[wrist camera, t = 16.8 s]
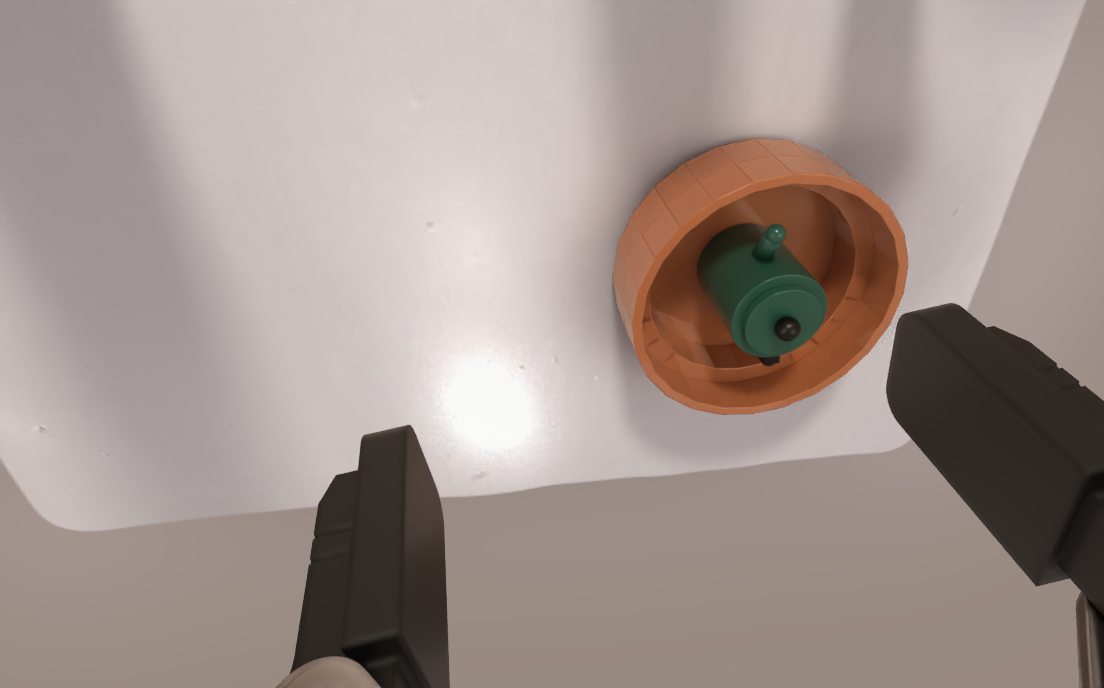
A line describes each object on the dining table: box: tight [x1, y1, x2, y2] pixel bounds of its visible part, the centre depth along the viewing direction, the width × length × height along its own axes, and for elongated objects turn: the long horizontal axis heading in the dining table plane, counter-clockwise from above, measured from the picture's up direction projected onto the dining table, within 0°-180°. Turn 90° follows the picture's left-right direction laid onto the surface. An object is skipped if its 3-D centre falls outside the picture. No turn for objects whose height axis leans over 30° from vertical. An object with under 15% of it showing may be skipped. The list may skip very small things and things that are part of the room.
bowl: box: [613, 139, 908, 415], centre depth 42 cm, size 16×16×6 cm
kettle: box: [697, 223, 827, 366], centre depth 40 cm, size 10×6×8 cm, turn 10°
